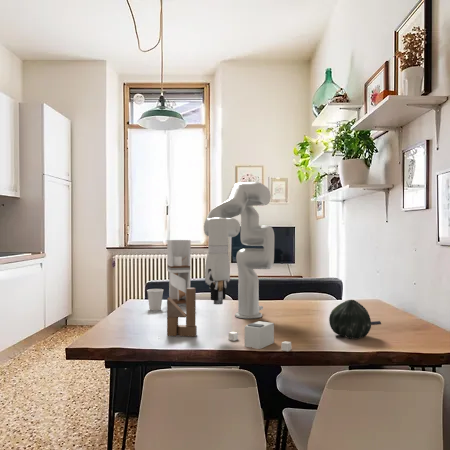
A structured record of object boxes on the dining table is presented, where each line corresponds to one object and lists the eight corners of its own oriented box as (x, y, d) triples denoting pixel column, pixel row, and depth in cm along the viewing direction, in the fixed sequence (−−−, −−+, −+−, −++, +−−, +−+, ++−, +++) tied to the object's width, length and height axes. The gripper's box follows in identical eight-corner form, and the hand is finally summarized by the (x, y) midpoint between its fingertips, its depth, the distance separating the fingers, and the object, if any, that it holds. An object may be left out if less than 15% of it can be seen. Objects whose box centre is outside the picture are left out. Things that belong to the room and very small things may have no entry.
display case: (167, 303, 232) (167, 240, 233) (185, 302, 236) (186, 239, 236) (170, 306, 222) (171, 240, 222) (190, 305, 225) (190, 240, 225)
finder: (259, 340, 152) (259, 320, 152) (273, 342, 148) (273, 322, 149) (244, 346, 144) (244, 324, 144) (259, 349, 140) (259, 327, 140)
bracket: (359, 318, 194) (359, 312, 194) (381, 325, 180) (381, 318, 180) (332, 321, 189) (332, 314, 189) (352, 327, 175) (352, 321, 175)
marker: (285, 348, 141) (285, 341, 141) (291, 349, 139) (291, 342, 139) (281, 350, 139) (281, 342, 139) (287, 351, 137) (287, 343, 137)
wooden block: (169, 334, 161) (169, 287, 161) (196, 334, 160) (196, 287, 160) (166, 336, 157) (167, 288, 158) (194, 337, 156) (195, 288, 156)
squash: (342, 315, 170) (332, 290, 162) (379, 322, 160) (371, 295, 153) (330, 344, 162) (319, 319, 154) (368, 352, 152) (359, 326, 144)
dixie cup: (162, 311, 208) (162, 291, 208) (145, 311, 208) (145, 290, 208) (164, 308, 216) (164, 288, 217) (148, 308, 217) (148, 288, 217)
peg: (217, 302, 159) (217, 278, 160) (224, 303, 157) (225, 279, 157) (211, 303, 156) (211, 279, 157) (218, 304, 154) (219, 280, 154)
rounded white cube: (232, 338, 154) (232, 331, 154) (237, 339, 153) (237, 332, 153) (228, 339, 152) (228, 332, 152) (233, 340, 151) (233, 333, 151)
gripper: (224, 249, 166) (223, 296, 166) (196, 250, 153) (195, 301, 153) (239, 250, 162) (239, 298, 161) (212, 251, 148) (211, 303, 148)
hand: (218, 299), depth 157 cm, fingers closed on peg, 3 cm apart
